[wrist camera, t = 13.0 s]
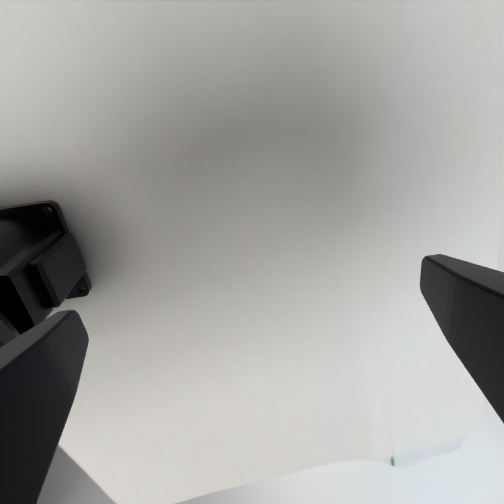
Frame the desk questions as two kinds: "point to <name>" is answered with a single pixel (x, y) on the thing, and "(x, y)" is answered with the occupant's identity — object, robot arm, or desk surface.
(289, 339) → the desk surface
